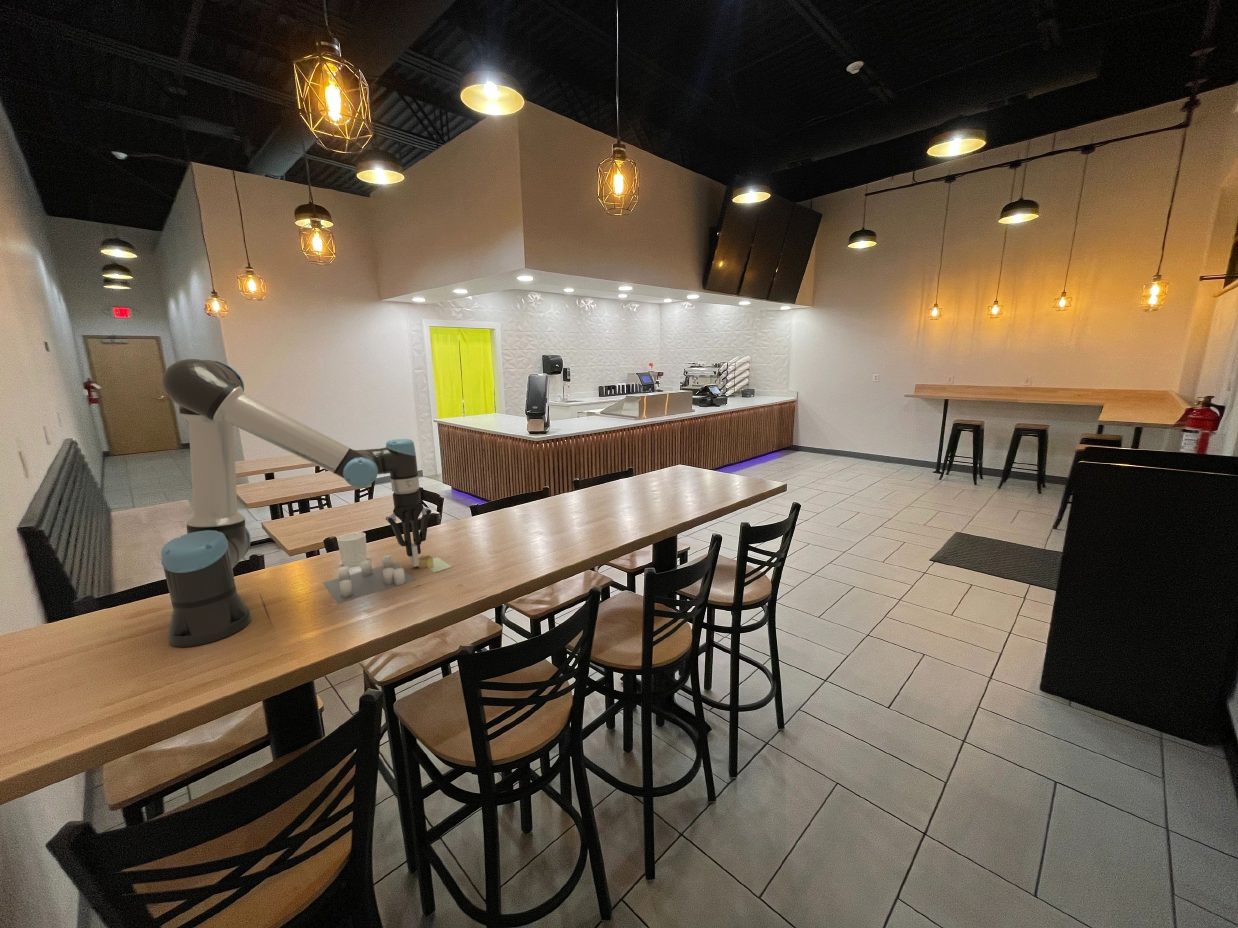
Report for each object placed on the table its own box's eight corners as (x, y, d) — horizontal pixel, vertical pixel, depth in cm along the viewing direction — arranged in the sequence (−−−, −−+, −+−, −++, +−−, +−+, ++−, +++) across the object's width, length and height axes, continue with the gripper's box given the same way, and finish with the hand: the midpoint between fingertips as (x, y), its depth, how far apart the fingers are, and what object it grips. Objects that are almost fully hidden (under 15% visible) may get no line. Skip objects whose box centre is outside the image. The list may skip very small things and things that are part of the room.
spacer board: (338, 608, 123) (336, 589, 122) (323, 586, 136) (320, 569, 135) (416, 583, 136) (414, 567, 135) (395, 566, 150) (393, 550, 149)
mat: (412, 579, 139) (412, 578, 139) (400, 568, 147) (399, 568, 147) (451, 567, 147) (451, 566, 147) (437, 558, 155) (437, 557, 155)
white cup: (348, 572, 146) (343, 542, 144) (337, 567, 150) (332, 537, 148) (373, 564, 152) (369, 534, 150) (362, 559, 156) (358, 530, 154)
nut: (421, 571, 144) (419, 562, 143) (415, 567, 148) (413, 558, 147) (435, 567, 147) (434, 558, 146) (429, 562, 151) (428, 554, 150)
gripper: (387, 497, 133) (397, 574, 138) (432, 488, 142) (440, 562, 146) (379, 493, 139) (389, 567, 143) (423, 484, 147) (431, 555, 152)
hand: (415, 564), depth 145 cm, fingers closed
